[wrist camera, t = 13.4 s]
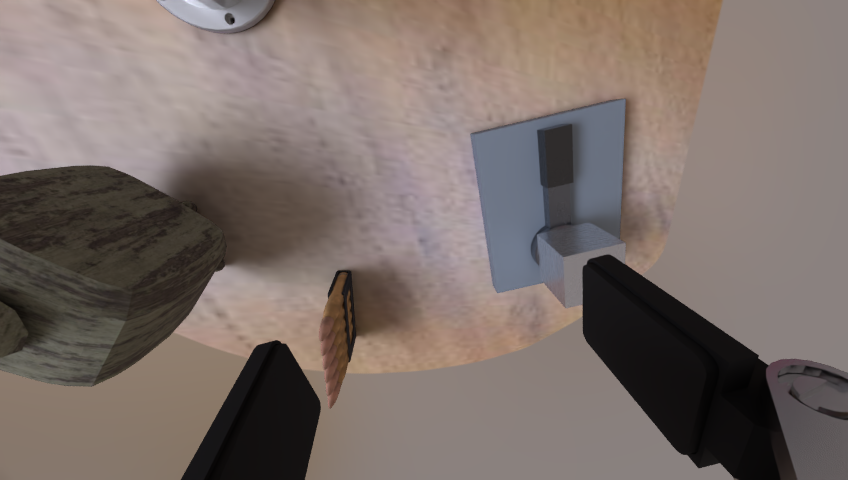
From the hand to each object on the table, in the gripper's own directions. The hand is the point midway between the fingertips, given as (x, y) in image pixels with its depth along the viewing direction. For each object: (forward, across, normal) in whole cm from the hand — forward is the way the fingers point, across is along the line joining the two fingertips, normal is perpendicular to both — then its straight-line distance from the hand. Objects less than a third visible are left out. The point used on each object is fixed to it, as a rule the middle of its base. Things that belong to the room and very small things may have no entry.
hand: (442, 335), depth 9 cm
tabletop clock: (+28, +26, 0) cm, 38 cm away
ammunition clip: (+27, +12, +16) cm, 34 cm away
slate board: (+26, -16, +8) cm, 32 cm away
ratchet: (+24, -16, +8) cm, 30 cm away
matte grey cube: (+22, -16, +13) cm, 30 cm away
